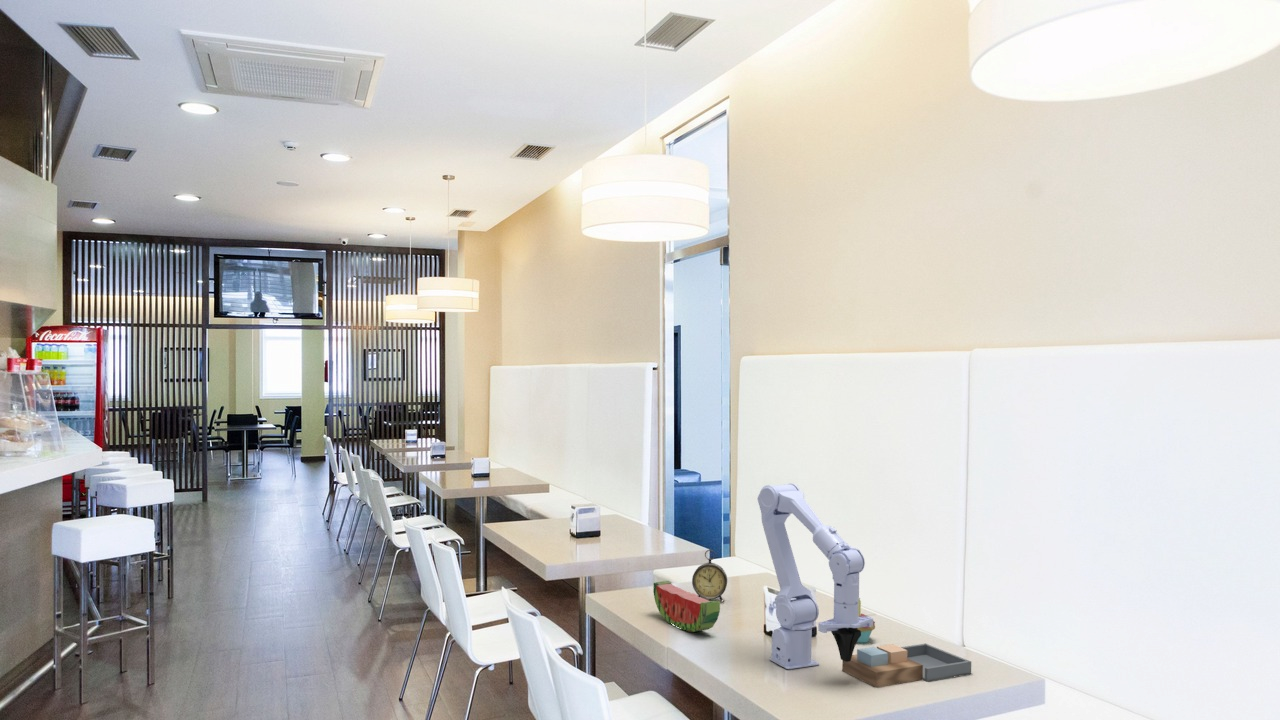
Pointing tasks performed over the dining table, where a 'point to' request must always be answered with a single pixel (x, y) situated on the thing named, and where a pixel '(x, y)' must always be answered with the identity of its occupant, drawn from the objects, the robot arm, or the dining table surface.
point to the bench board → (884, 672)
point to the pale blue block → (872, 656)
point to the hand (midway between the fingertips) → (845, 660)
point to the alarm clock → (709, 580)
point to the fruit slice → (685, 607)
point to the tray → (937, 662)
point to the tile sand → (894, 653)
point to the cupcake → (864, 628)
